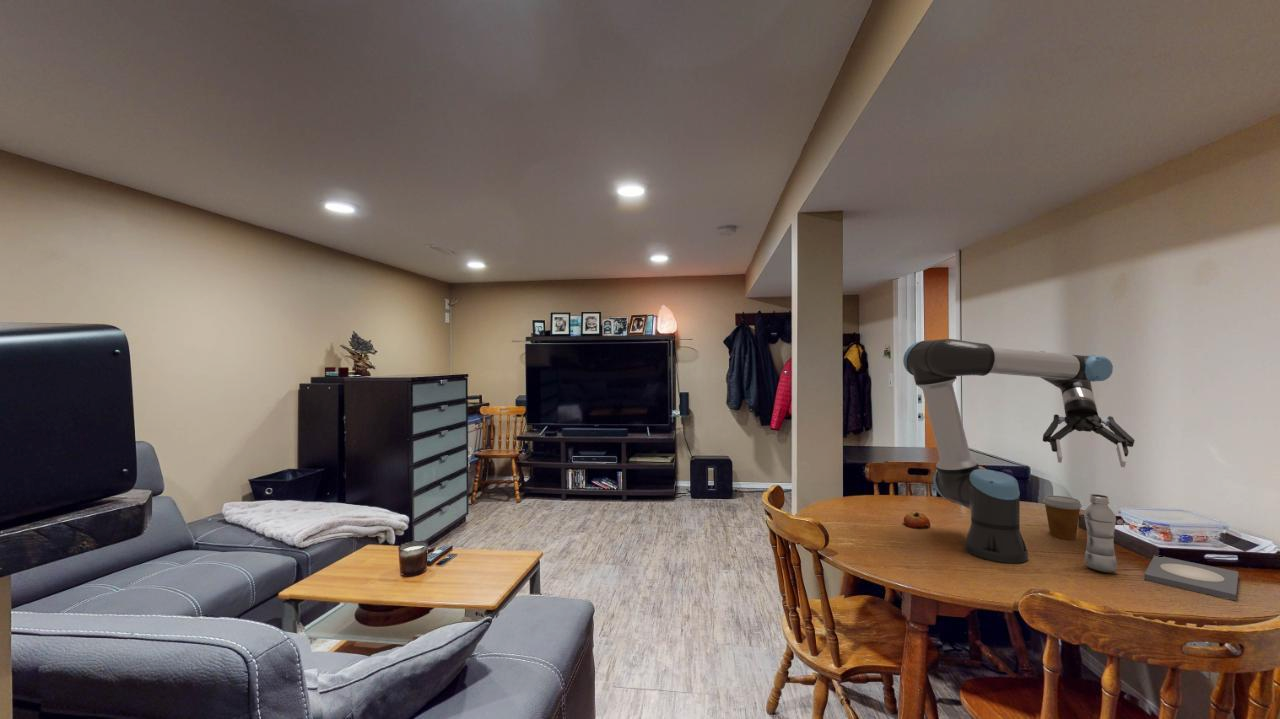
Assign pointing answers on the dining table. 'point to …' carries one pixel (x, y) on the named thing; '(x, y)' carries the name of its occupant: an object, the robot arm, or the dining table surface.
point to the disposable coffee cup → (1062, 516)
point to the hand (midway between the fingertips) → (1091, 462)
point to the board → (1193, 577)
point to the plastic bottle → (1100, 535)
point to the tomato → (916, 520)
